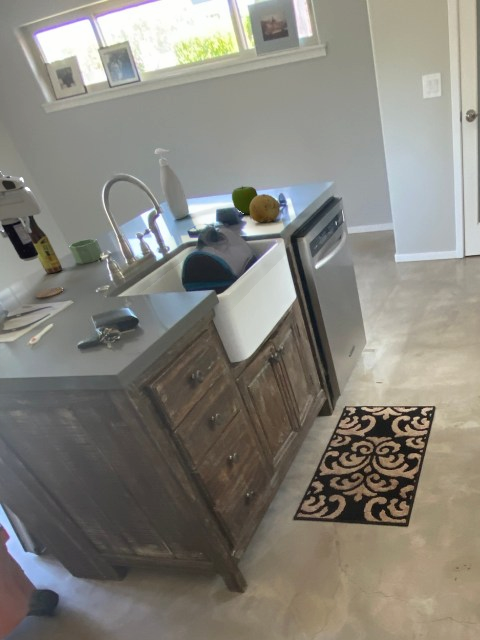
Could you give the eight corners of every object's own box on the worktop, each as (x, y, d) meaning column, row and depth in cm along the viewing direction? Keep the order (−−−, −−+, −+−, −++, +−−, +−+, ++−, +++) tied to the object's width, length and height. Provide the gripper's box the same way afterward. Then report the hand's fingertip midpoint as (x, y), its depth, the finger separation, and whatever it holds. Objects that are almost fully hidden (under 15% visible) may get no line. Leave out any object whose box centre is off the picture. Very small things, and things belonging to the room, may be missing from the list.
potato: (257, 219, 221) (250, 193, 214) (285, 217, 218) (278, 190, 211) (249, 226, 213) (242, 199, 207) (277, 224, 211) (271, 196, 204)
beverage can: (37, 255, 173) (15, 215, 164) (42, 257, 169) (20, 216, 161) (19, 260, 170) (-4, 219, 162) (24, 262, 167) (1, 221, 159)
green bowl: (75, 265, 201) (67, 248, 197) (79, 258, 208) (72, 242, 204) (101, 260, 202) (93, 243, 198) (104, 253, 209) (97, 237, 205)
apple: (233, 217, 229) (225, 189, 222) (243, 211, 237) (235, 183, 230) (255, 215, 227) (248, 187, 219) (265, 209, 234) (258, 181, 227)
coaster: (33, 300, 173) (32, 299, 173) (39, 291, 180) (38, 290, 180) (60, 294, 174) (60, 293, 174) (65, 286, 181) (65, 285, 181)
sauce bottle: (58, 273, 195) (28, 214, 182) (43, 275, 196) (11, 216, 182) (66, 267, 200) (37, 210, 187) (51, 269, 201) (21, 212, 187)
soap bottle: (183, 220, 237) (159, 150, 219) (168, 222, 239) (143, 152, 220) (198, 212, 247) (176, 144, 229) (183, 213, 249) (160, 146, 231)
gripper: (-50, 193, 152) (-19, 244, 161) (22, 180, 154) (48, 231, 164) (-42, 189, 157) (-13, 239, 166) (27, 177, 159) (52, 226, 168)
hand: (18, 235), depth 165 cm, fingers closed on beverage can, 5 cm apart
